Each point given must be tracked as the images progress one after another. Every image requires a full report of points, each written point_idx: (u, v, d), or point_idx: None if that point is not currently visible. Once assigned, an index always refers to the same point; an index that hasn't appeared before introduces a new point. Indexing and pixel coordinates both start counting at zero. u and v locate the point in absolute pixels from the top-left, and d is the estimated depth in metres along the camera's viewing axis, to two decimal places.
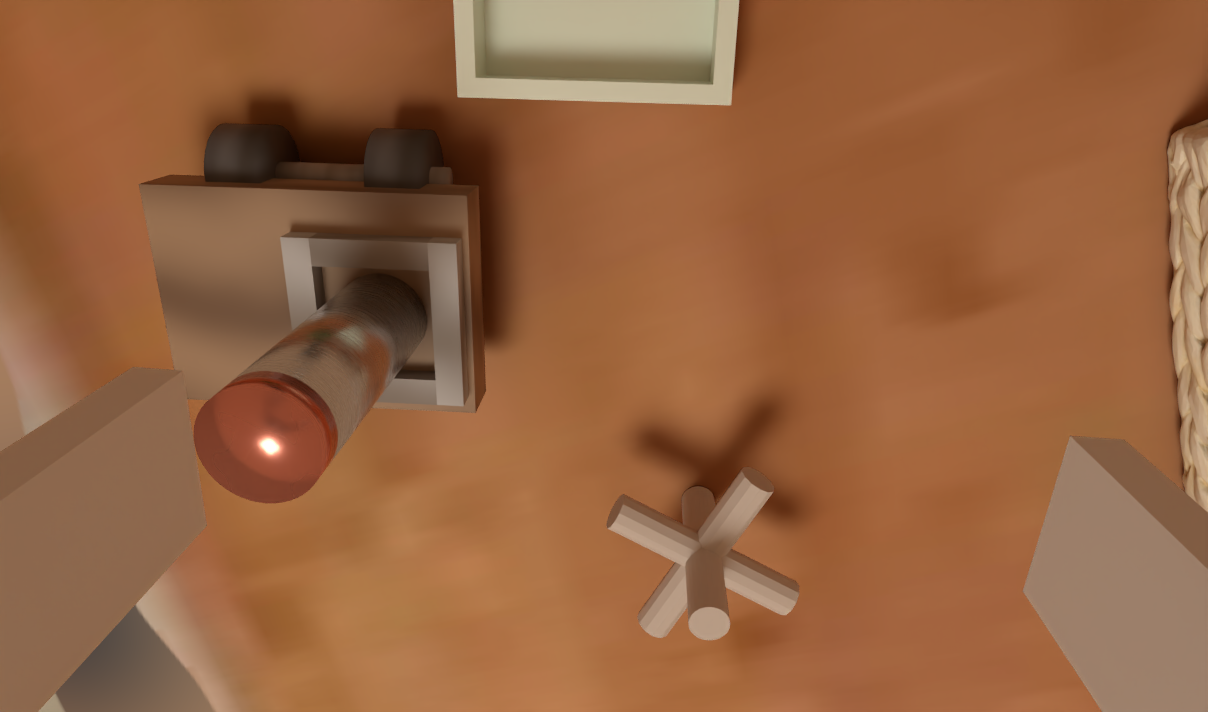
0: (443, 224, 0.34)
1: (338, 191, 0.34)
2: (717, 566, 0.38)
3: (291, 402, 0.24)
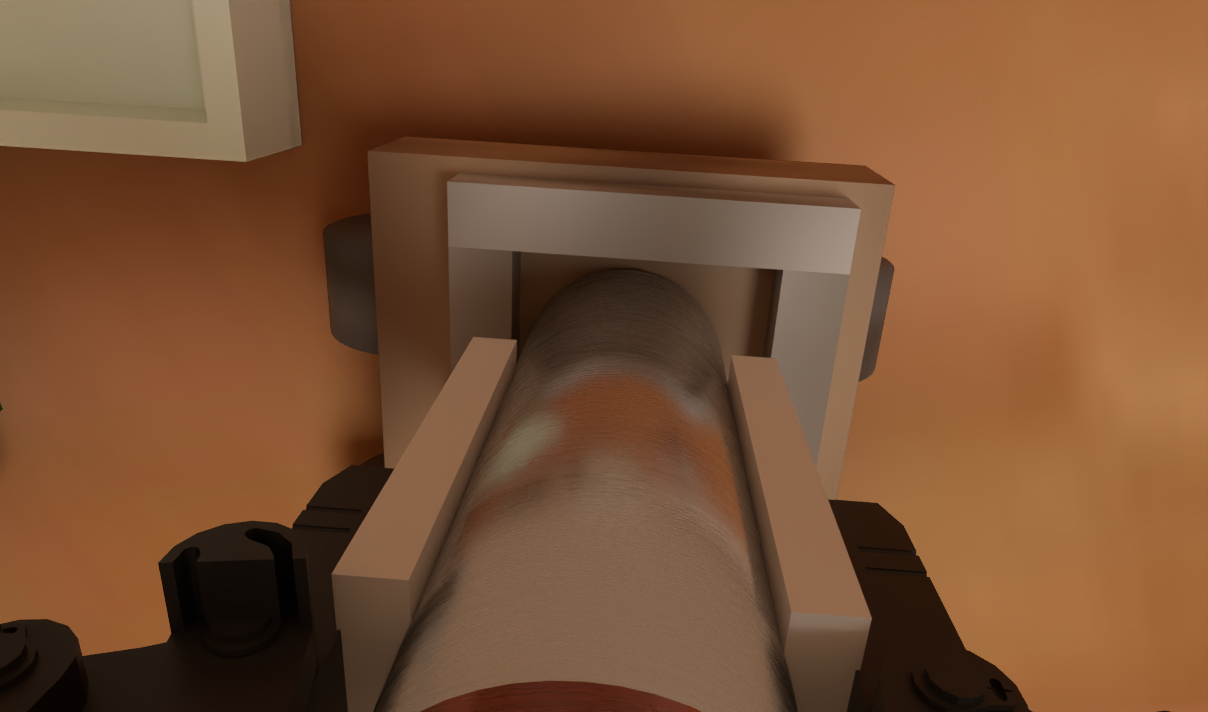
0: (432, 209, 0.16)
1: (383, 405, 0.18)
2: None
3: None
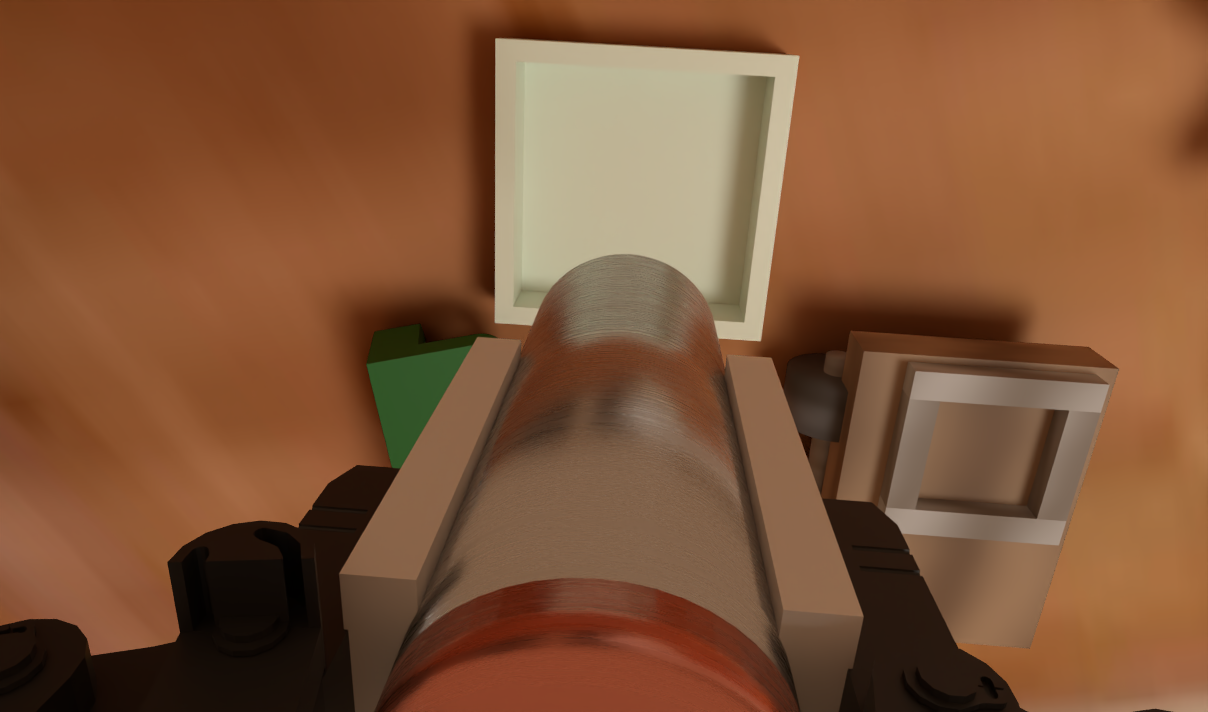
0: (890, 377, 0.32)
1: (841, 469, 0.34)
2: None
3: None
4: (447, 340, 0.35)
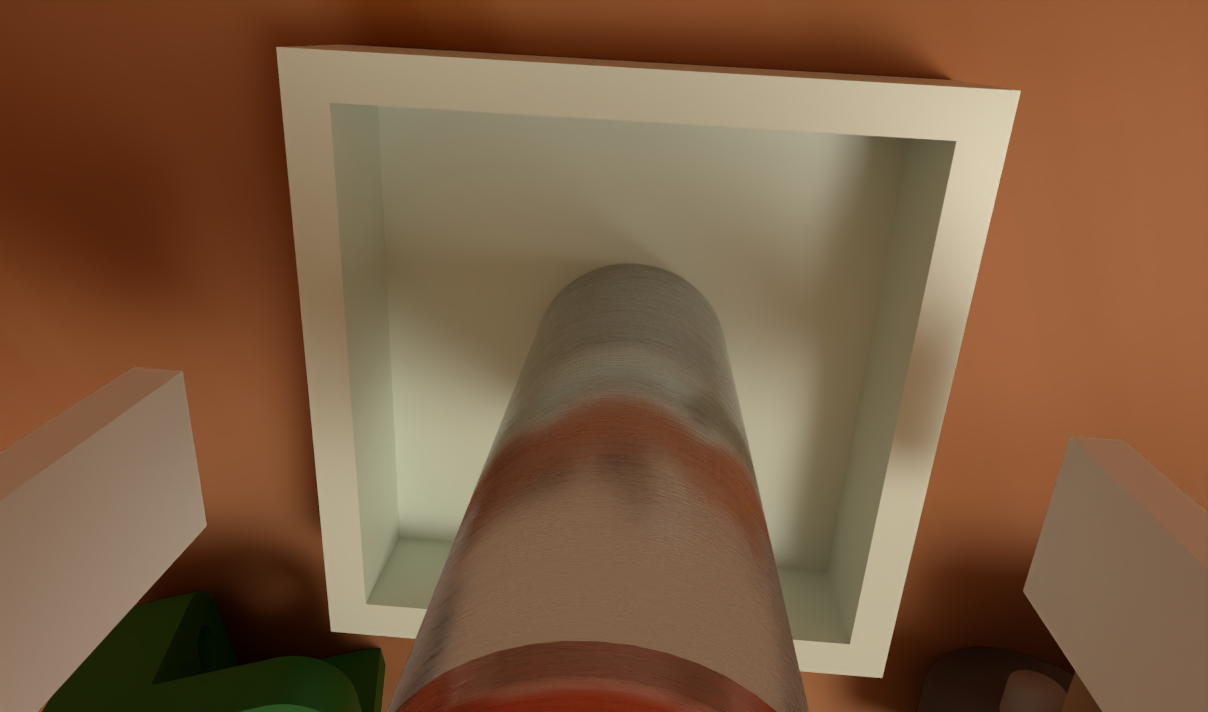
0: None
1: None
2: None
3: None
4: (212, 677, 0.17)
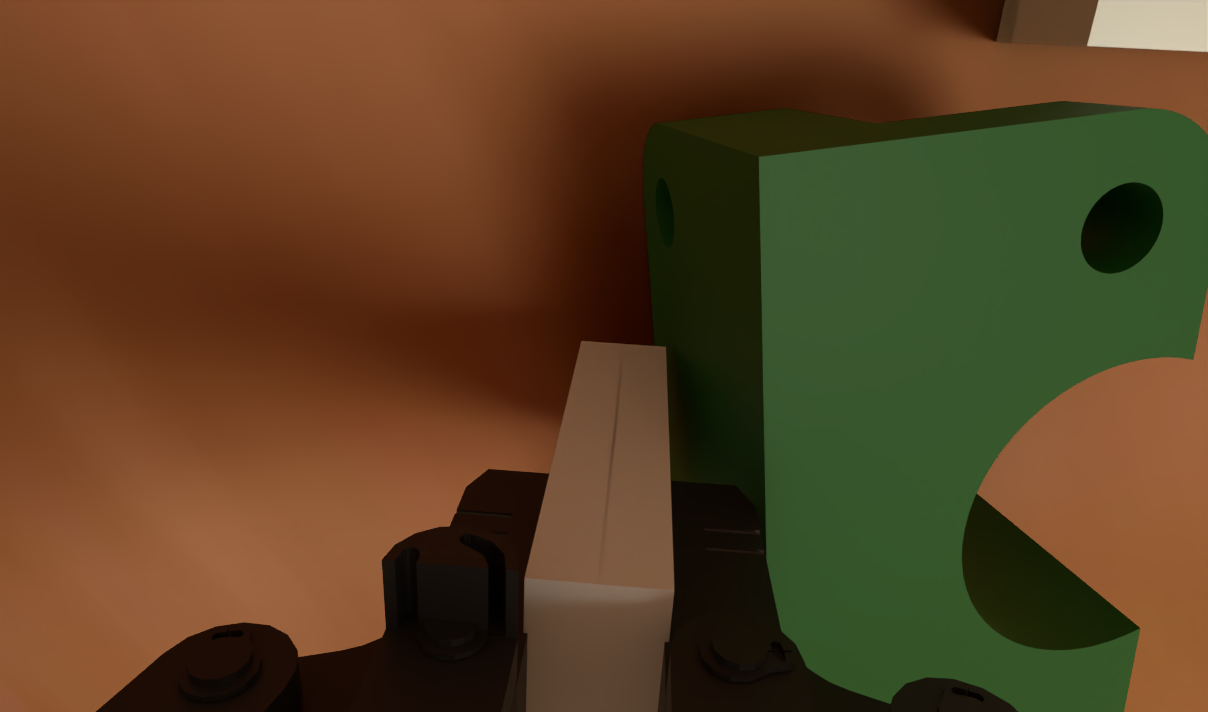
0: None
1: None
2: None
3: None
4: (977, 113, 0.10)
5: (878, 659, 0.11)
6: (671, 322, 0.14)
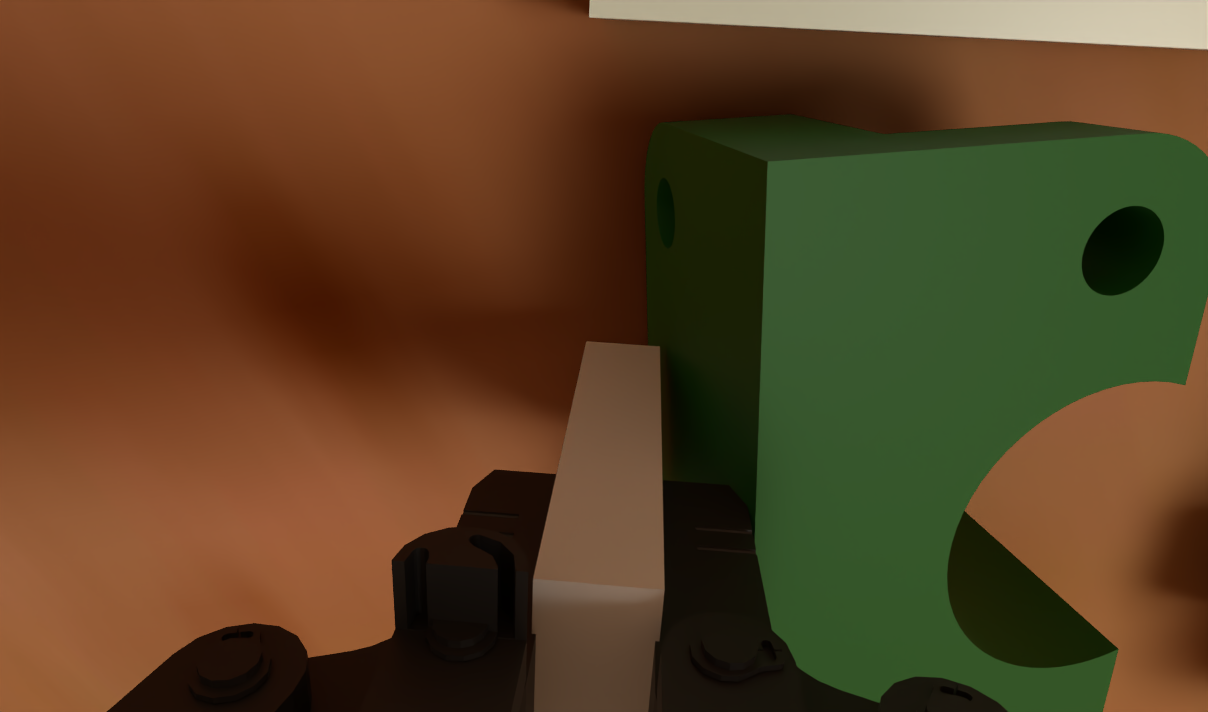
0: None
1: None
2: None
3: None
4: (984, 129, 0.10)
5: (859, 670, 0.11)
6: (666, 324, 0.14)
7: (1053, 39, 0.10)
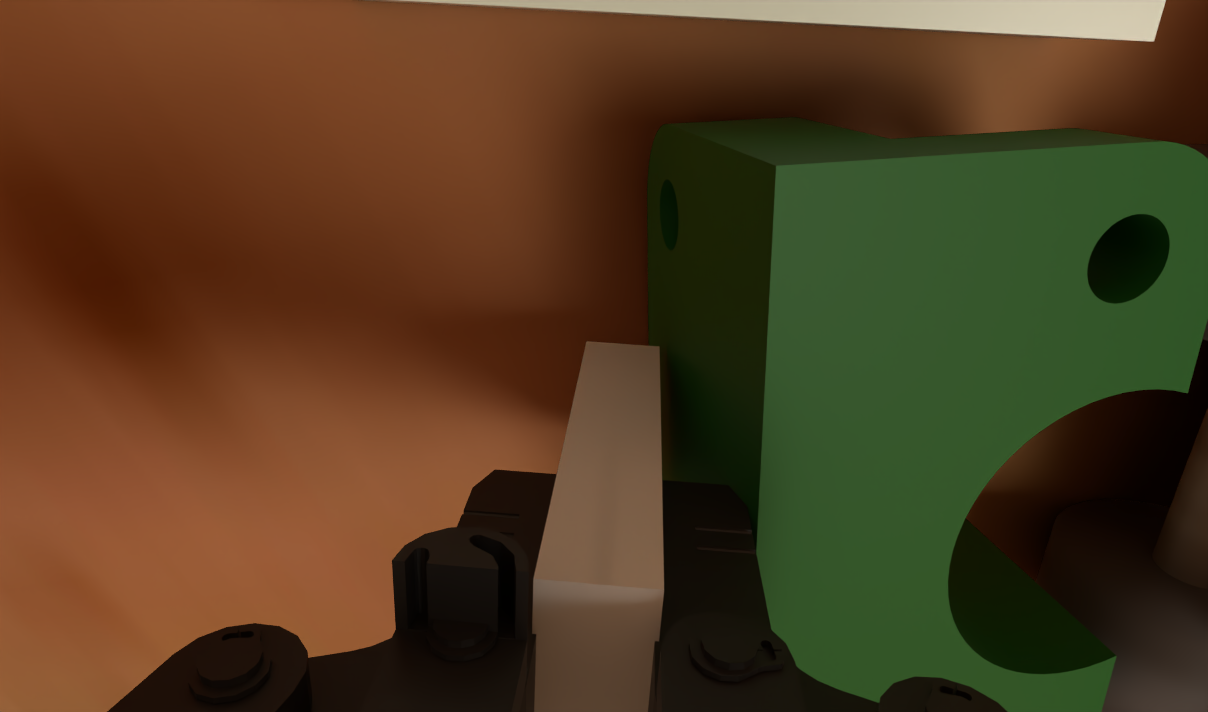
0: None
1: None
2: None
3: None
4: (991, 134, 0.10)
5: (858, 675, 0.11)
6: (668, 326, 0.13)
7: (725, 16, 0.11)
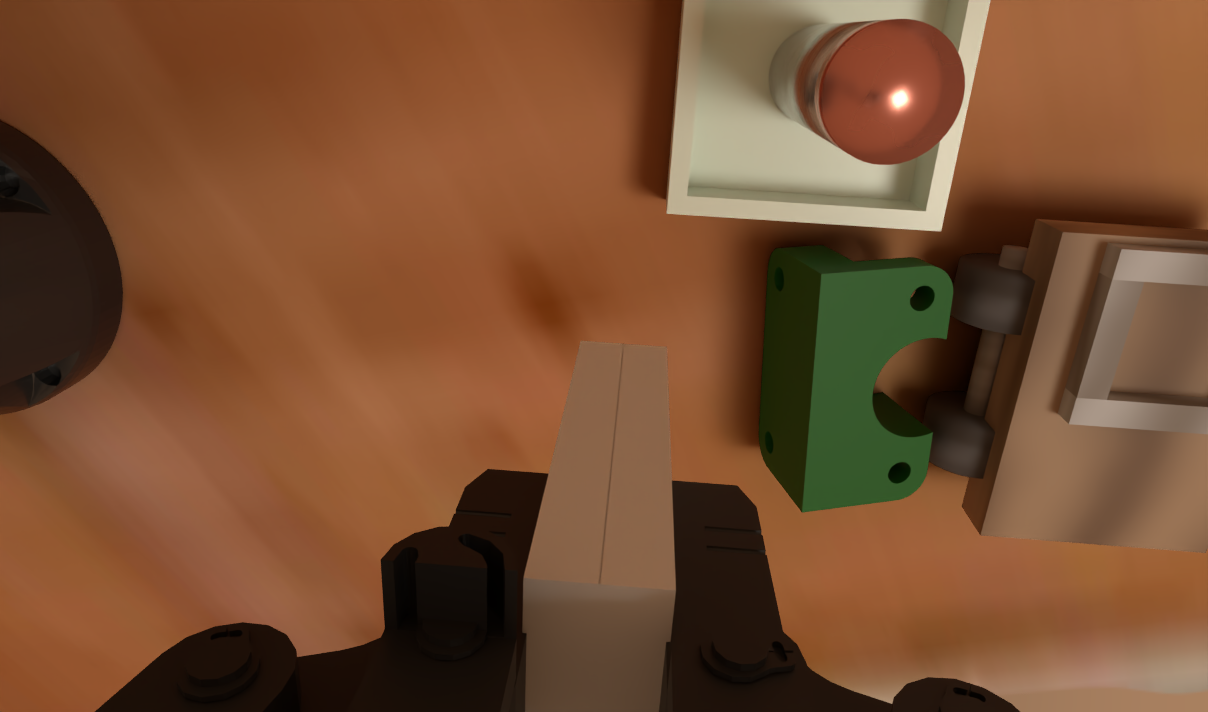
0: (1087, 260, 0.32)
1: (1027, 360, 0.33)
2: None
3: (844, 46, 0.23)
4: (883, 260, 0.34)
5: (843, 431, 0.35)
6: (776, 318, 0.37)
7: (810, 222, 0.34)
